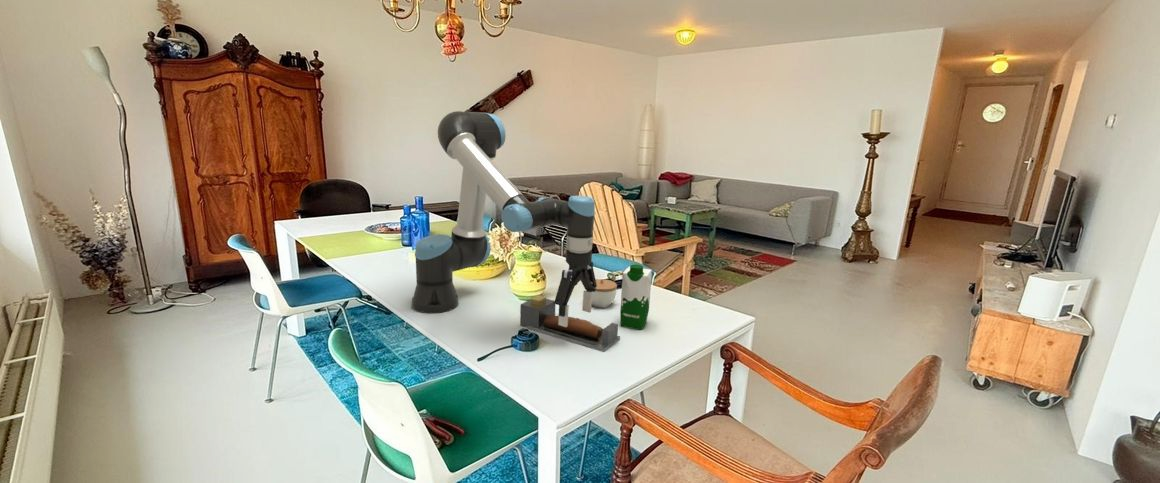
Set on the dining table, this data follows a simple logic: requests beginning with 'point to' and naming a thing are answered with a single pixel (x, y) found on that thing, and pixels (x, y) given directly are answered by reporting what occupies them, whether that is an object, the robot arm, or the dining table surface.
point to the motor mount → (542, 308)
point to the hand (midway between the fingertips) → (575, 318)
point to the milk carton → (635, 297)
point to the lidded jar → (604, 293)
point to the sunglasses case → (575, 326)
